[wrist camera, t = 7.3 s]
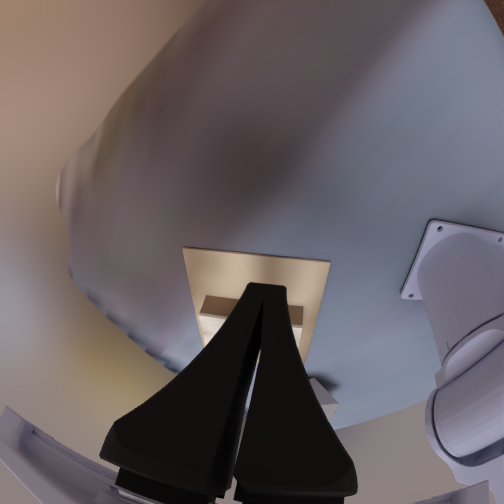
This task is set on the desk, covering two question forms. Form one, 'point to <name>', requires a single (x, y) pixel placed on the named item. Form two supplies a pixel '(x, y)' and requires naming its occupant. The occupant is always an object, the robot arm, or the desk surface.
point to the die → (324, 399)
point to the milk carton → (497, 12)
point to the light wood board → (258, 281)
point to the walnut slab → (221, 307)
